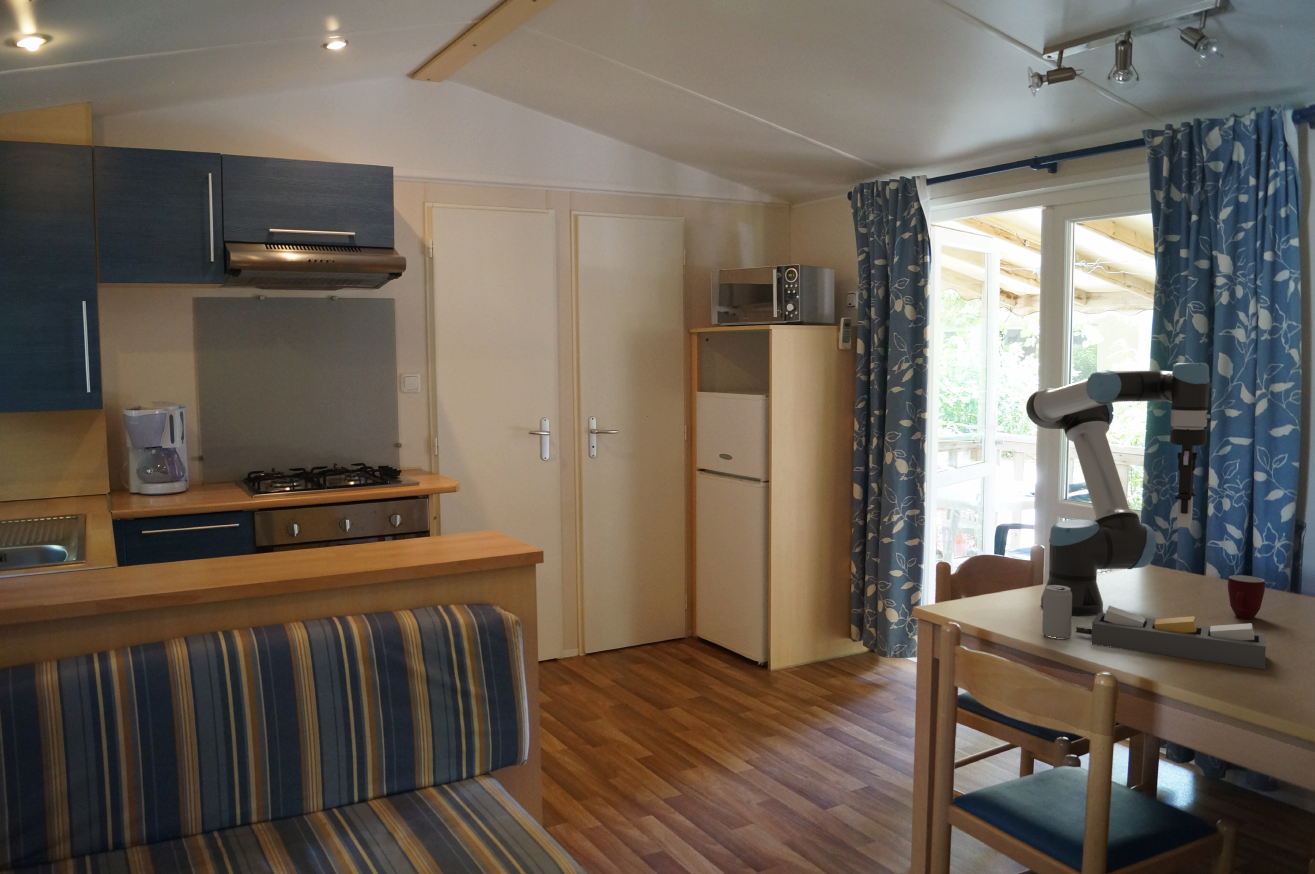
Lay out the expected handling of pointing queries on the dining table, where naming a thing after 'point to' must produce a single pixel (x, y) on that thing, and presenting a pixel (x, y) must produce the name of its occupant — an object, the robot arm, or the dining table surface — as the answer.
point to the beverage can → (1057, 611)
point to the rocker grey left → (1123, 617)
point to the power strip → (1178, 642)
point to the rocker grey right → (1233, 631)
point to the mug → (1245, 595)
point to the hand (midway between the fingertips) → (1184, 524)
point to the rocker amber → (1177, 624)
